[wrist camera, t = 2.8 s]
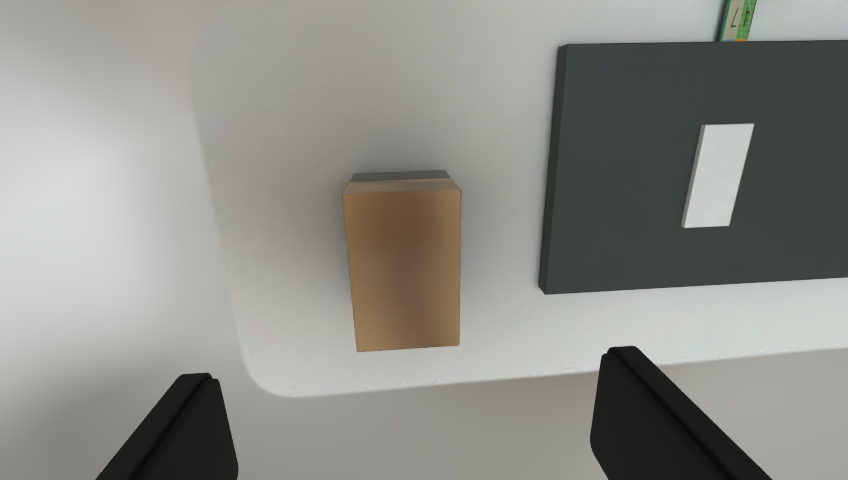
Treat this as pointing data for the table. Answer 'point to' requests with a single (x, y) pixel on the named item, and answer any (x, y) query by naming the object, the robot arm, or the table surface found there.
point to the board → (673, 161)
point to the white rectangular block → (716, 174)
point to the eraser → (404, 259)
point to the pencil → (737, 20)
